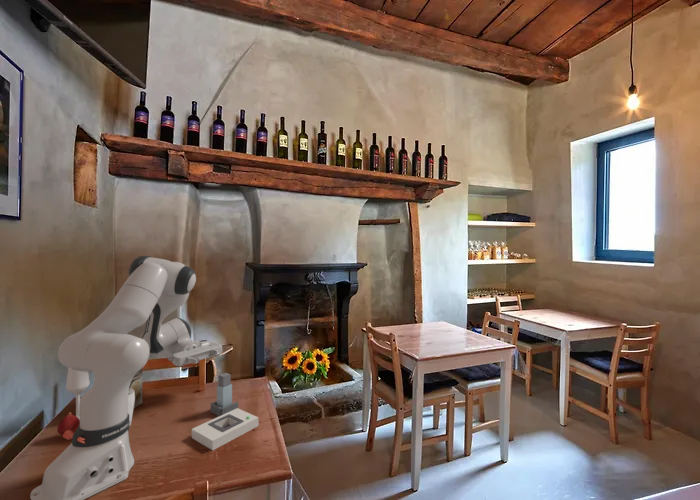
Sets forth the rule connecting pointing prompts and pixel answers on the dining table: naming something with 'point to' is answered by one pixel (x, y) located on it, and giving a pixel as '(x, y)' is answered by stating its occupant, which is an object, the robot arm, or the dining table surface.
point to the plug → (224, 390)
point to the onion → (68, 424)
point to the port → (224, 428)
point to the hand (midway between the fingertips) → (208, 357)
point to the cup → (131, 403)
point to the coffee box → (137, 387)
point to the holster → (219, 410)
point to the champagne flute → (77, 385)
